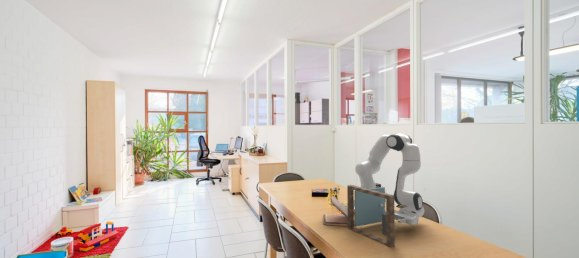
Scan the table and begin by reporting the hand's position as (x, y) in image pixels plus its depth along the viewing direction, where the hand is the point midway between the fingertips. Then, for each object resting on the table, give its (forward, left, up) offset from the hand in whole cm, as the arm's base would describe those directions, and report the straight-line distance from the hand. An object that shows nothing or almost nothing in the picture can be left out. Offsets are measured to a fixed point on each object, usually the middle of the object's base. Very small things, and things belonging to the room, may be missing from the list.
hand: (392, 219), depth 164 cm
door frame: (-4, -17, -8) cm, 19 cm away
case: (-34, -14, -8) cm, 38 cm away
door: (-14, -3, -7) cm, 16 cm away
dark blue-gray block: (0, -4, -8) cm, 9 cm away
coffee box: (-47, +41, -8) cm, 63 cm away
